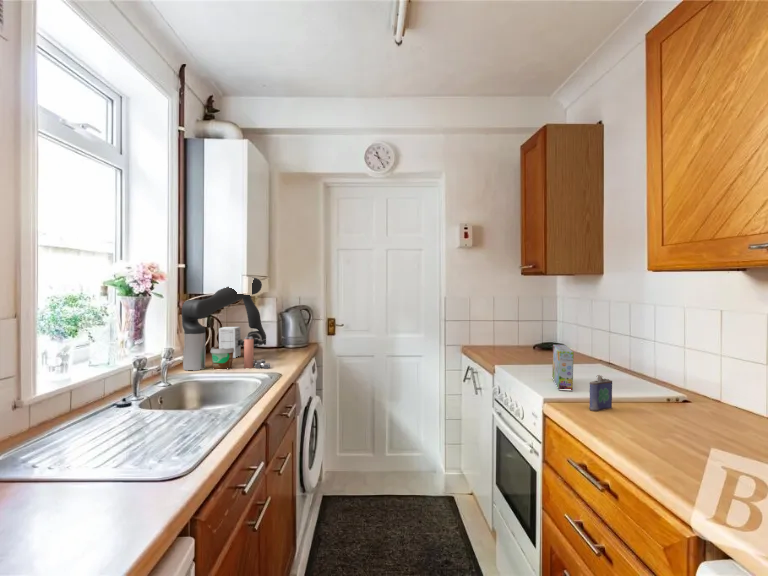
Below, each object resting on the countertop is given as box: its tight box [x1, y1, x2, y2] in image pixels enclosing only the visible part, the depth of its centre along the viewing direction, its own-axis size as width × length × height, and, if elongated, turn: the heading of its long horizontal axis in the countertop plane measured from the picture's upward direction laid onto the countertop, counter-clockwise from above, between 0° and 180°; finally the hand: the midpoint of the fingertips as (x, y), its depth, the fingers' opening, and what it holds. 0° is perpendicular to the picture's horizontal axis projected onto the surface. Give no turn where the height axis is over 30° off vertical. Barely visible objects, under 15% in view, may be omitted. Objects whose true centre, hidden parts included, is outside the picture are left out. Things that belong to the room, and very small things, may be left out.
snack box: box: [552, 344, 575, 390], centre depth 164 cm, size 21×6×15 cm, turn 164°
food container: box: [209, 346, 234, 370], centre depth 198 cm, size 12×6×10 cm, turn 73°
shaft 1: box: [253, 358, 266, 367], centre depth 207 cm, size 7×3×3 cm, turn 156°
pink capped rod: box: [243, 336, 255, 369], centre depth 201 cm, size 4×4×15 cm
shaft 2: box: [254, 362, 271, 370], centre depth 200 cm, size 7×3×3 cm, turn 81°
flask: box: [589, 374, 613, 412], centre depth 131 cm, size 9×3×11 cm, turn 115°
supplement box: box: [218, 326, 242, 359], centre depth 233 cm, size 10×9×17 cm
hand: (251, 343), depth 211 cm, fingers open, 8 cm apart
